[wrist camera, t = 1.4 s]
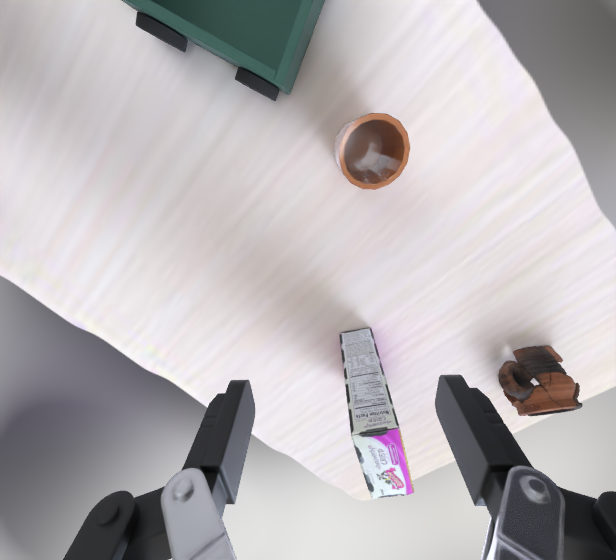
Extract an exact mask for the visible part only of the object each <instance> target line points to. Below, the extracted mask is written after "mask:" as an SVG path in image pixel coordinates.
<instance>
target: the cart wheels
mask: <svg viewBox="0 0 616 560" xmlns="http://www.w3.org/2000/svg"><path fill="white" fill-rule="evenodd" d="M136 26H138V27H139V28H141V29H143V30H144V31H146V32H148V33H150V34H152V35H153V36H155V37H157V38H159V39H161V40H162V41H164V42H166V43H168V44H170V45H172V46H173V47H175V48H177V49H179V50H181V51H183V52H185V51H186V46H187V41H188V40H187V39H186V38H184V37H183V36H181V35H180V34H178V33H177V32H175V31H173V30H172V29H170V28H168V27H166V26H165V25H163V24H161V23H160V22H158V21H156V20H154V19H152V18H151V17H149V16H147V15H145V14H143V13H141V12H137V18H136ZM235 79H236V80H237V81H239V82H241V83H242V84H244V85H246V86H248V87H249V88H251V89H253V90H255V91H257V92H259V93H260V94H262V95H264V96H266V97H268V98H270V99H272V100H274V101H276V98H277V95H278V92H279V89H278V88H276V87H275V86H273V85H272V84H270V83H268V82H267V81H265V80H263V79H262V78H260V77H258V76H256V75H254V74H253V73H251V72H249V71H247V70H245V69H243V68H240V67H238V70H237V73H236V76H235Z"/></svg>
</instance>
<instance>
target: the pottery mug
mask: <svg viewBox="0 0 616 560" xmlns="http://www.w3.org/2000/svg"><path fill="white" fill-rule="evenodd" d="M513 354H514V355H515V357H516V360H517V363H516V362H513V361H506V362H505V363H504V364H503V366H502V367H501V368H500V370H499V374H498V378H499V382H500V384H501V386H502V388H503V389H504V390H503V392H504V394H505V396H506V397H507V398H508V400H509V401H510V402H511V403H512V406H514V407H516V408H517V410H518V414H519V415H520V416H526V415H528V416H538V415H547V414H554V413H561V412H567V411H573V410H576V409H579V408H581V407H582V403H579V402H578V400H577V397H578V396H579V391H580V390H579V387H580V386H579V384H578V383H576V384H575V382H574V381H573V379H572V378H571V377H570V376H568V375H566V374H567V373H566V372H565V370H564V369H563V368H562V367H561V365H560V364H559V363H558V362H562V361H563V360H562V358H561V357H560V356H559V355H558V354H557V353H556V352H555V351H554V349H553V348H551V347H548V346H539V347H536V346H534V347H527V348H522V349H518V350H515V351H513ZM532 378H535V379H536V380H537V382H539V385H536V386H534V385H533V384H532V383H531V382H530V381H531V380H532Z"/></svg>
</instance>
